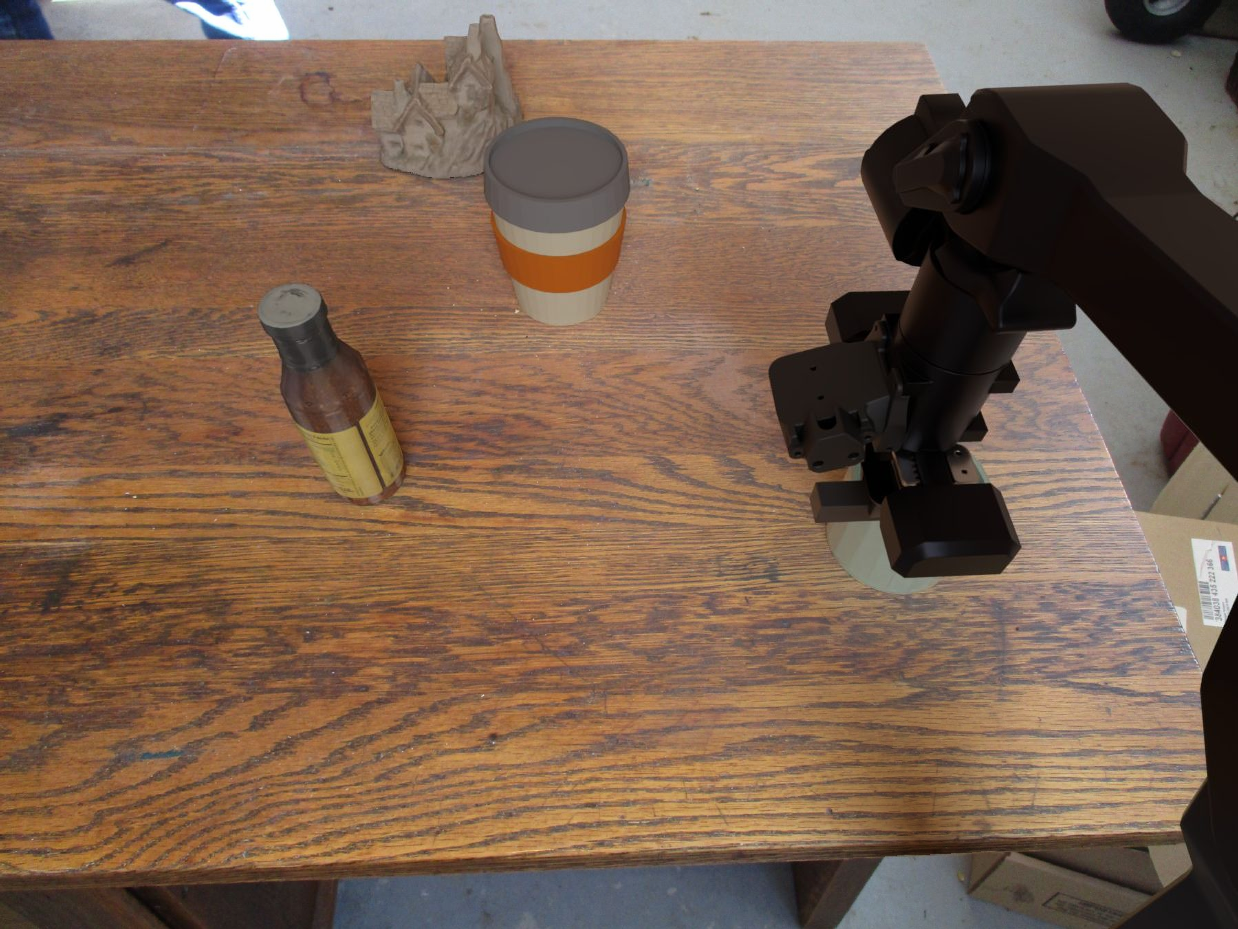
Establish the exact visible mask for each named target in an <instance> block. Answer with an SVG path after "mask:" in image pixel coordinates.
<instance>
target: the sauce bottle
mask: <svg viewBox="0 0 1238 929" xmlns="http://www.w3.org/2000/svg"><path fill="white" fill-rule="evenodd" d="M256 314H257V317H258V320H259V322H260V325H261V327H262V330H263V331H264V332H265V333H266V334H267V335H268V337H270V338H271V340H272V342H273V343H274V346H275V347H276V350H277V351H278V356H279V358H280V362H281V376H280V383H279V391H280V396H282V397H281V398H282V399H283V401H284V403H285V405H286V408H287V409H288V412H289V414H290V417H291V419H292V420H293V422H294V424H295V426H296V427H297V429H298V431H299V433H300V436H301V437H302V439H303V441H304V442H305V444H306V446H307V448H308V450H309V451H310V453H311V455H312V457H313V458H314V461H315V462H316V464H317V465H318V467H319V469H320V471H321V472H322V474H323V477H324V478H325V480H326V482H327V483H328V485H329V487H330V488H331V489H332V490H333V491H334V493H335V494H336V495H337V496H338V497H340V498H341V499H343V500H345V501H346V502H348V503H351V504H355V505H357V506H368V505H374V504H377V503H379V502H383V501H384V500H387V499H389V498H391V497H392V496H394V494H396V492H397V491H398V490H399V489H400V488H401V485H402V483H403V482H404V480H405V476H406V472H407V469H406V468H407V467H406V464H405V460H404V454H403V450H402V447H401V445H400V442H399V440H398V437H397V435H396V433H395V430H394V427H393V425H392V423H391V420H390V418H389V415H388V413H387V410H386V408H385V405H384V403H383V400H382V397H381V395H380V393H379V390H378V386H377V385H376V382H375V380H374V378H373V377H372V376H371V374H370V371H369V369H368V366H367V364H366V362H365V360H364V358H363V355H362V354H361V352H360V351H359V350H358V349H355V348H353V347H352V346H351V345H349V344H348V343H347V342H345V341H344V340H342V339H340V338H339V337H338V335H337V333H335V331H334V329H333V327H332V324H331V322H330V320H329V317H328V316H329V315H328V314H329V309H328V305H327V303H326V302H325V300H324V298H323V295H322V294H321V293H320V291H319V290H318V289H317V288H316V287H314V286H313V285H310V284H308V283H303V282H292V283H285V284H281V285H277V286H275V287H272V288H271V289H269V291H267V292H266V293H265V294H264V295H263V296H262V297H261V299H260V300H259V301H258V304H257V309H256Z"/></svg>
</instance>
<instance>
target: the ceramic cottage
mask: <svg viewBox="0 0 1238 929" xmlns="http://www.w3.org/2000/svg"><path fill="white" fill-rule="evenodd" d="M498 30H499V29H498V27H497V23H496V16H494V14H487V13H483V14H481V15H480V16H479V22H478V23H473V22H472V23H469V24H468V31H467V35H463V36H462V35H459V36H458V35H456V36H455V35H445V36H443V42H444V53H445V54H444V55H445V71H446V74H445V75H444V81H441V82H438V81H437V80H436V79H435V78H434V76H433V75H432V74H431V73H430V72H429V70H427V69H426V68H425V67H424V65H423V64H422V62H420V61H416V62H415V64H414V66H413V67H412V71H411V72H410V74H409V75H408V81H407V82H406V81H405V79H404V78H403V77H401V78H393V79H392V89H391V90H390V89H380V88H377V87H374V88H373V89H372V90H371V91H370V93H371V95H370V104H371V105H370V107H371V108H370V111H371V127H372V129H371V130H373V131H374V132H376V134H377V136H378V139H379V141H380V143H381V146H380V152H379V159H380V158H381V162H382V163H383V164H384V165H385V166H386V167H387V166H388V167H389V168H392V169H393V170H394V171H397V170H398V171H400V170H401V171H400V172H403V171H407V172H411V173H410V174H412V172H413V173H415V174H414V175H416V174H417V175H418V176H419V175H422V176H421V177H425V176H427V177H432V178H431V179H433V178H434V179H436V178H437V179H451V178H450V177H454V178H460V177H461V178H464V177H465V178H466V177H468V176H469V177H471V176H470V175H475V176H477V175H476V174H479V173H481V172H484V170H483V162H484V153H485V151H486V148H487V146H488V145H489V144H490V142H491V141H492V140H493V139H494V138H495V137H496V136H497V135H498V134H499V133H501V132H502V131H504V130H506V129H507V128H509V127H511V126H513V125H516V124H518V123H521V122H522V120H523V121H524V113H523V110H522V106H521V102H520V98H519V96H518V95H517V94H516V93H515V92H514V87H513V83H512V79H511V78H512V77H511V75H510V73H509V71H508V69H507V68H506V65H505V61H504V48H503V41H502V38H501V36H500V34H499V31H498ZM381 162H380V163H381ZM382 163H381V164H382ZM383 164H382V165H383ZM384 165H383V166H384ZM385 166H384V167H385ZM388 167H387V168H388ZM389 168H388V169H389ZM395 169H396V170H395ZM402 170H403V171H402ZM479 175H480V174H479Z"/></svg>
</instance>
